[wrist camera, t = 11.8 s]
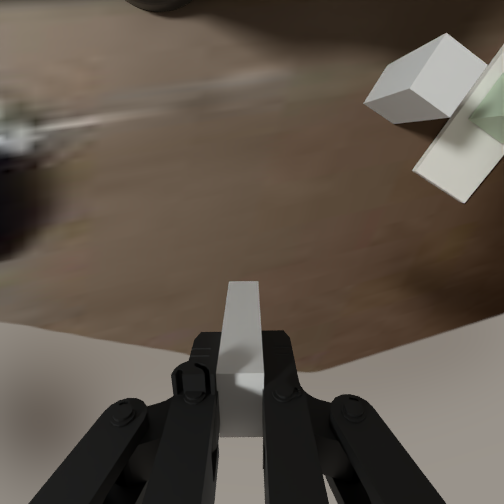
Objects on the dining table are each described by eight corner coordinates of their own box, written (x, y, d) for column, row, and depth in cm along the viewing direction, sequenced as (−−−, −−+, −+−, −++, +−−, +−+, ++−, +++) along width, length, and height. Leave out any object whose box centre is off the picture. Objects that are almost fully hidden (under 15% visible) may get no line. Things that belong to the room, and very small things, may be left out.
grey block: (363, 103, 39) (409, 88, 28) (387, 65, 38) (446, 32, 26) (393, 124, 40) (449, 117, 29) (418, 87, 39) (487, 65, 27)
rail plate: (459, 202, 44) (464, 203, 43) (411, 170, 42) (415, 171, 41) (564, 72, 38) (572, 70, 37) (513, 30, 37) (520, 27, 36)
